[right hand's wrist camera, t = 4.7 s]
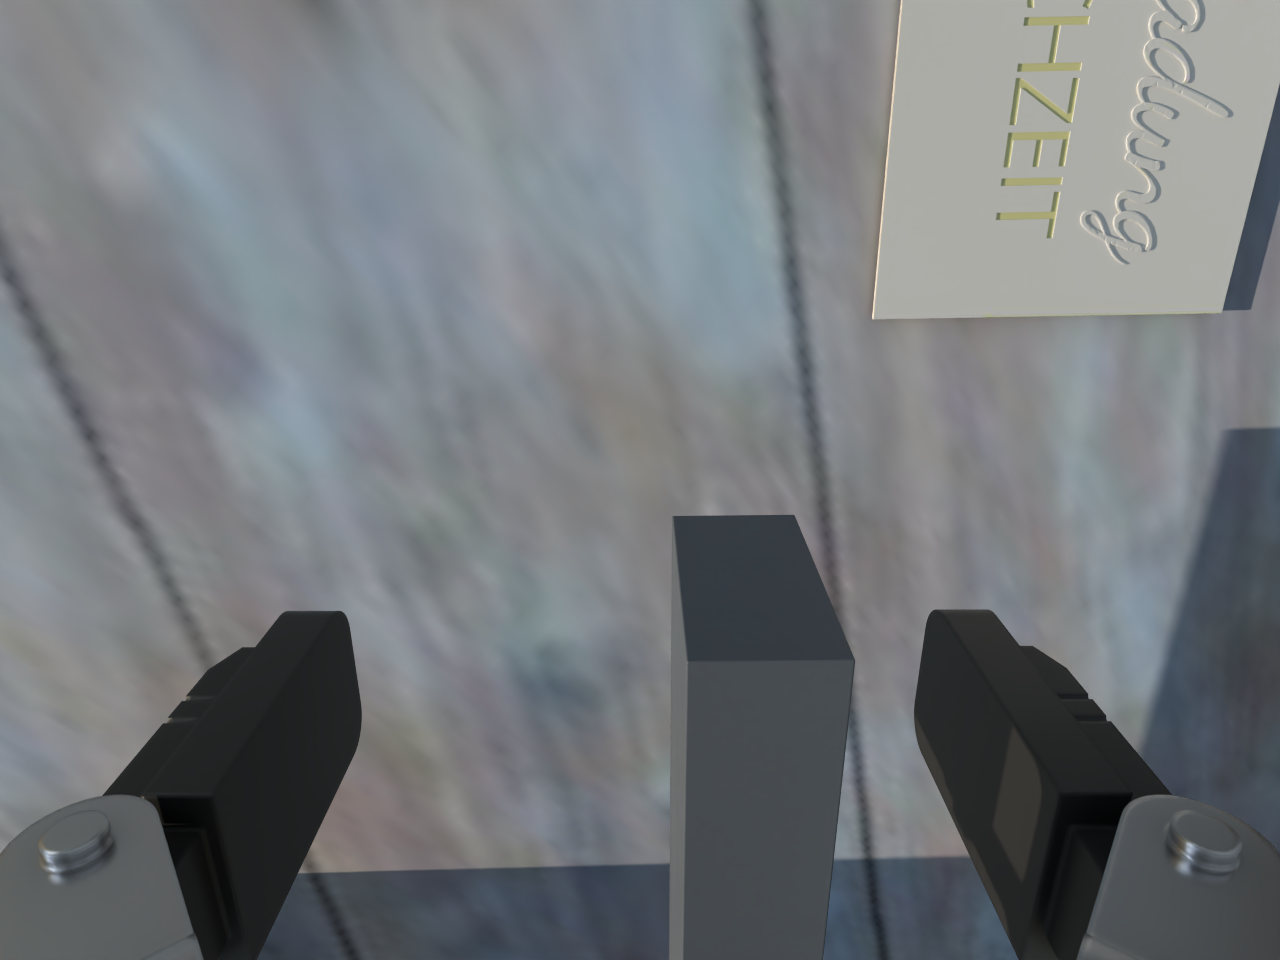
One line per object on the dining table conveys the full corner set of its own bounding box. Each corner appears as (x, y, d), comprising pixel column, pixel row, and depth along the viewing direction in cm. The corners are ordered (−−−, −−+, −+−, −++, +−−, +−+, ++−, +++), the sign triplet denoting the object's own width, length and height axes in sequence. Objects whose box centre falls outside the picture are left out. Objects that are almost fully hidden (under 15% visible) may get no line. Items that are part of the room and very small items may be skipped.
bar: (671, 515, 32) (686, 661, 23) (794, 514, 32) (855, 660, 23) (668, 1007, 42) (677, 1236, 34) (760, 1006, 42) (793, 1235, 34)
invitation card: (932, -319, 28) (1385, -329, 28) (929, -314, 28) (1378, -325, 28) (873, 319, 36) (1222, 313, 36) (872, 318, 36) (1218, 312, 36)
